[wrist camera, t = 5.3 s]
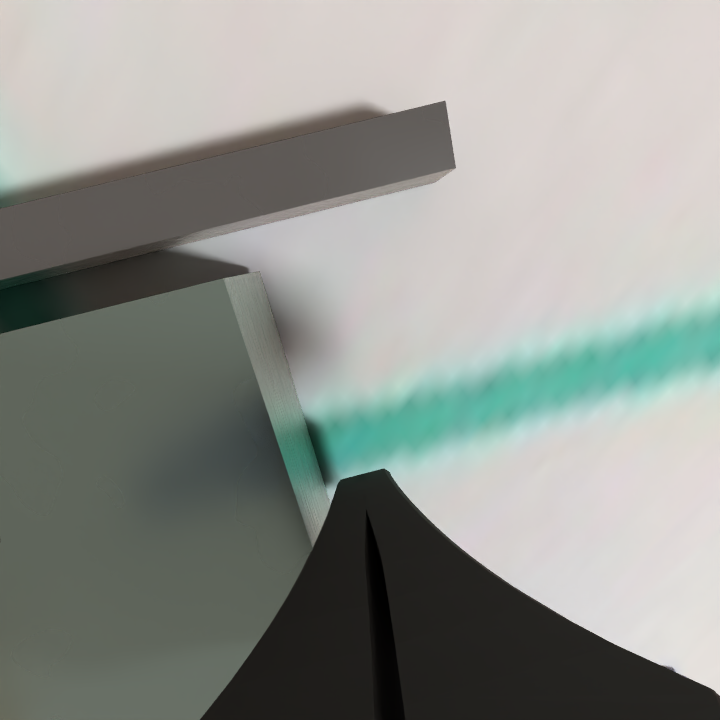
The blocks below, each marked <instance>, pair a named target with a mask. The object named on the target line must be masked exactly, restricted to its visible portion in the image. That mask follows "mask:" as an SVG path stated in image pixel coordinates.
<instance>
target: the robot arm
mask: <svg viewBox="0 0 720 720" xmlns="http://www.w3.org/2000/svg"><path fill="white" fill-rule="evenodd" d="M200 720H720V696H719V695H718V694H717V693H716V692H715V691H714V690H712V689H711V688H708V687H706V686H704V685H702V684H700V683H697V682H695V681H693V680H691V679H689V678H687V677H686V676H682V675H680V674H678V673H676V672H673V671H671V670H669V669H667V668H665V667H663V666H660V665H658V664H656V663H654V662H652V661H650V660H647V659H645V658H643V657H641V656H639V655H636V654H634V653H632V652H630V651H628V650H626V649H623V648H621V647H619V646H617V645H615V644H613V643H611V642H609V641H607V640H605V639H603V638H601V637H599V636H598V635H596V634H594V633H592V632H590V631H588V630H586V629H584V628H583V627H581V626H579V625H577V624H575V623H573V622H571V621H570V620H568V619H566V618H565V617H563V616H561V615H560V614H558V613H556V612H555V611H553V610H551V609H550V608H548V607H546V606H545V605H543V604H541V603H540V602H538V601H536V600H535V599H533V598H531V597H530V596H528V595H526V594H525V593H523V592H521V591H520V590H518V589H516V588H515V587H513V586H512V585H510V584H509V583H507V582H506V581H504V580H503V579H502V578H500V577H499V576H497V575H496V574H494V573H493V572H491V571H490V570H489V569H487V568H486V567H484V566H483V565H482V564H480V563H479V562H478V561H476V560H475V559H474V558H472V557H471V556H470V555H469V554H467V553H466V552H465V551H464V550H462V549H461V548H460V547H459V546H457V545H456V544H455V543H454V542H453V541H451V540H450V539H449V538H448V537H447V536H446V535H445V534H444V533H442V532H441V531H440V530H439V529H438V528H437V527H436V526H435V525H434V524H433V523H432V522H431V521H430V520H429V519H427V517H426V516H425V515H424V514H423V513H422V512H421V511H420V510H419V509H418V508H417V507H416V506H415V505H414V504H413V503H412V502H411V501H410V500H409V498H408V497H407V496H406V495H405V494H404V493H403V491H402V490H401V489H400V488H399V486H398V485H397V484H396V482H395V481H394V479H393V478H392V476H391V474H390V472H389V471H387V470H385V469H380V470H376V471H372V472H369V473H365V474H361V475H357V476H353V477H349V478H345V479H342V480H340V482H339V483H338V485H337V488H336V491H335V494H334V497H333V500H332V503H331V506H330V508H329V511H328V514H327V516H326V519H325V521H324V524H323V526H322V528H321V531H320V533H319V535H318V537H317V540H316V542H315V544H314V546H313V549H312V551H311V553H310V554H309V556H308V558H307V560H306V562H305V564H304V566H303V568H302V570H301V572H300V574H299V576H298V578H297V580H296V582H295V584H294V585H293V587H292V589H291V591H290V592H289V594H288V596H287V598H286V599H285V601H284V603H283V604H282V606H281V608H280V609H279V611H278V612H277V614H276V616H275V617H274V619H273V621H272V622H271V624H270V625H269V627H268V628H267V630H266V631H265V633H264V634H263V636H262V637H261V639H260V640H259V641H258V643H257V644H256V646H255V647H254V649H253V650H252V652H251V653H250V655H249V656H248V657H247V659H246V660H245V661H244V663H243V664H242V666H241V667H240V668H239V670H238V671H237V673H236V674H235V675H234V677H233V678H232V680H231V681H230V682H229V683H228V685H227V686H226V687H225V689H224V690H223V691H222V692H221V694H220V695H219V696H218V697H217V699H216V700H215V701H214V702H213V704H212V705H211V706H210V707H209V709H208V710H207V711H206V712H205V714H204V715H203V716H202V717H201V719H200Z"/></svg>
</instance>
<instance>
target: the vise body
mask: <svg viewBox="0 0 720 720" xmlns="http://www.w3.org/2000/svg"><path fill="white" fill-rule="evenodd" d="M455 168H456V166H455V159H454V153H453V147H452V140H451V134H450V127H449V121H448V115H447V108H446V102H445V101H442V102H438V103H434V104H430V105H426V106H422V107H418V108H413V109H409V110H405V111H401V112H397V113H393V114H389V115H385V116H380V117H376V118H372V119H368V120H364V121H360V122H356V123H352V124H347V125H343V126H339V127H335V128H331V129H327V130H323V131H319V132H314V133H310V134H306V135H302V136H298V137H294V138H290V139H286V140H281V141H277V142H273V143H269V144H265V145H261V146H257V147H253V148H248V149H244V150H240V151H236V152H232V153H228V154H224V155H219V156H215V157H211V158H207V159H203V160H199V161H195V162H191V163H186V164H182V165H178V166H174V167H170V168H166V169H162V170H158V171H153V172H149V173H145V174H141V175H137V176H133V177H129V178H125V179H120V180H116V181H112V182H108V183H104V184H100V185H96V186H92V187H87V188H83V189H79V190H75V191H71V192H67V193H63V194H59V195H54V196H50V197H46V198H42V199H38V200H34V201H30V202H25V203H21V204H17V205H13V206H9V207H5V208H1V209H0V290H1V289H5V288H9V287H13V286H17V285H21V284H25V283H29V282H33V281H37V280H41V279H45V278H49V277H53V276H57V275H61V274H65V273H69V272H74V271H78V270H82V269H86V268H90V267H94V266H98V265H102V264H106V263H110V262H114V261H118V260H122V259H126V258H130V257H134V256H138V255H142V254H147V253H151V252H155V251H159V250H163V249H167V248H171V247H175V246H179V245H183V244H187V243H191V242H195V241H199V240H203V239H207V238H211V237H215V236H219V235H224V234H228V233H232V232H236V231H240V230H244V229H248V228H252V227H256V226H260V225H264V224H268V223H272V222H276V221H280V220H284V219H288V218H292V217H297V216H301V215H305V214H309V213H313V212H317V211H321V210H325V209H329V208H333V207H337V206H341V205H345V204H349V203H353V202H357V201H361V200H365V199H369V198H374V197H378V196H382V195H386V194H390V193H394V192H398V191H402V190H406V189H410V188H414V187H418V186H422V185H426V184H430V183H434V182H436V181H438V180H439V179H441V178H442V177H444V176H445V175H446V174H448V173H449V172H451V171H452V170H454V169H455Z"/></svg>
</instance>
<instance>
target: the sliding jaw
mask: <svg viewBox="0 0 720 720" xmlns="http://www.w3.org/2000/svg"><path fill="white" fill-rule="evenodd" d="M330 506H331V505H330V501H329V498H328V495H327V491H326V488H325V485H324V482H323V478H322V475H321V472H320V468H319V465H318V462H317V458H316V455H315V452H314V449H313V445H312V442H311V439H310V435H309V432H308V429H307V426H306V422H305V419H304V416H303V412H302V409H301V406H300V403H299V399H298V396H297V393H296V389H295V386H294V383H293V380H292V376H291V373H290V370H289V366H288V363H287V360H286V356H285V353H284V350H283V347H282V343H281V340H280V337H279V333H278V330H277V327H276V324H275V320H274V317H273V314H272V310H271V307H270V304H269V301H268V297H267V294H266V291H265V287H264V284H263V281H262V278H261V274H260V271H258V272H253V273H248V274H243V275H238V276H233V277H227V278H223V279H219V280H214V281H210V282H206V283H202V284H198V285H194V286H190V287H186V288H182V289H178V290H174V291H170V292H166V293H162V294H158V295H154V296H150V297H146V298H142V299H138V300H134V301H130V302H126V303H122V304H118V305H114V306H110V307H106V308H102V309H98V310H94V311H90V312H86V313H82V314H78V315H74V316H70V317H66V318H62V319H58V320H54V321H50V322H46V323H42V324H38V325H34V326H30V327H26V328H22V329H18V330H14V331H10V332H6V333H2V334H0V720H200V719H201V717H202V716H203V715H204V714H205V712H206V711H207V710H208V709H209V707H210V706H211V705H212V704H213V702H214V701H215V700H216V699H217V697H218V696H219V695H220V694H221V692H222V691H223V690H224V689H225V687H226V686H227V685H228V683H229V682H230V681H231V680H232V678H233V677H234V675H235V674H236V673H237V671H238V670H239V668H240V667H241V666H242V664H243V663H244V661H245V660H246V659H247V657H248V656H249V655H250V653H251V652H252V650H253V649H254V647H255V646H256V644H257V643H258V641H259V640H260V639H261V637H262V636H263V634H264V633H265V631H266V630H267V628H268V627H269V625H270V624H271V622H272V621H273V619H274V617H275V616H276V614H277V612H278V611H279V609H280V608H281V606H282V604H283V603H284V601H285V599H286V598H287V596H288V594H289V592H290V591H291V589H292V587H293V585H294V584H295V582H296V580H297V578H298V576H299V574H300V572H301V570H302V568H303V566H304V564H305V562H306V560H307V558H308V556H309V554H310V553H311V551H312V549H313V546H314V544H315V542H316V540H317V537H318V535H319V533H320V531H321V528H322V526H323V524H324V521H325V519H326V516H327V514H328V511H329V508H330Z"/></svg>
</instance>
